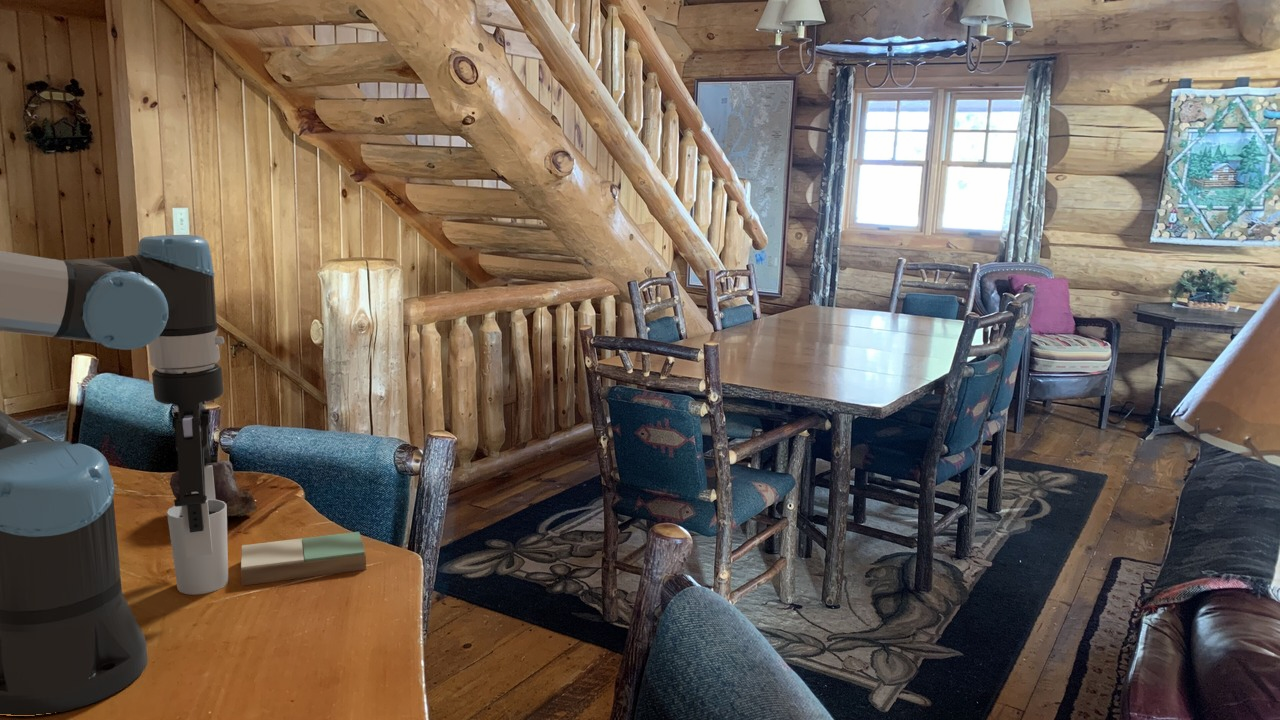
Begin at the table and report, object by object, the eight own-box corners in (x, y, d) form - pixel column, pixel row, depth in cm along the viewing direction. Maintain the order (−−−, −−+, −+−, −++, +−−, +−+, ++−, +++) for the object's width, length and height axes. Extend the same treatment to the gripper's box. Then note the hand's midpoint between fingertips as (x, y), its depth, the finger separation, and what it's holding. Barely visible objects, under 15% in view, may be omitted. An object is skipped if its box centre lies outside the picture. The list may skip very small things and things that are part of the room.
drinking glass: (215, 568, 123) (210, 495, 121) (242, 583, 119) (236, 507, 117) (163, 585, 118) (157, 509, 116) (189, 601, 114) (182, 522, 112)
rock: (234, 507, 149) (162, 521, 142) (228, 450, 148) (156, 461, 141) (264, 516, 140) (190, 532, 133) (259, 456, 140) (183, 469, 132)
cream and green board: (366, 569, 124) (365, 552, 124) (241, 585, 119) (240, 568, 118) (360, 546, 131) (359, 530, 131) (242, 560, 126) (241, 544, 125)
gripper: (217, 387, 103) (233, 569, 108) (224, 344, 126) (237, 496, 130) (139, 392, 101) (159, 579, 105) (161, 348, 123) (176, 503, 128)
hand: (202, 533), depth 118 cm, fingers open, 13 cm apart
